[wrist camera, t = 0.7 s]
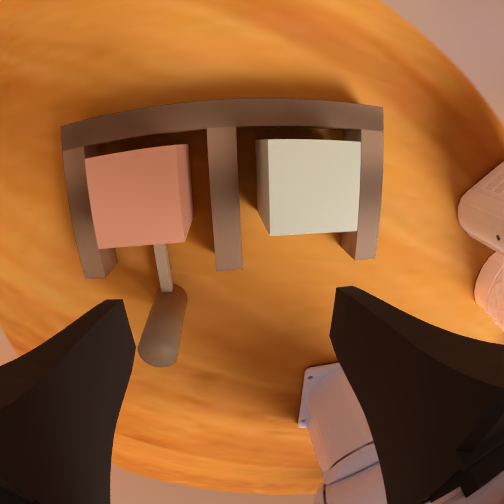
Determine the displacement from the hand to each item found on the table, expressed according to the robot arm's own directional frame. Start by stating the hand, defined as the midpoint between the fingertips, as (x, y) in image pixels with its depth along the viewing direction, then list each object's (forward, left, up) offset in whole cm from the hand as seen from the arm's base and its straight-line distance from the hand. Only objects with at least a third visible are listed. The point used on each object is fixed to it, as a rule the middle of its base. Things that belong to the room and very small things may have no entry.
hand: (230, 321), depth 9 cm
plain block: (+3, -4, -10) cm, 11 cm away
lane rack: (+3, 0, -10) cm, 10 cm away
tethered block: (0, +4, -10) cm, 11 cm away
